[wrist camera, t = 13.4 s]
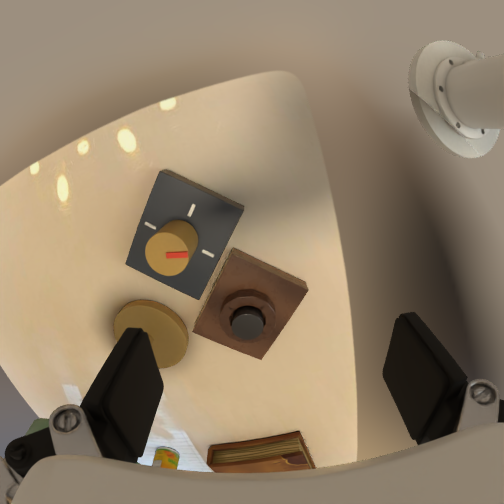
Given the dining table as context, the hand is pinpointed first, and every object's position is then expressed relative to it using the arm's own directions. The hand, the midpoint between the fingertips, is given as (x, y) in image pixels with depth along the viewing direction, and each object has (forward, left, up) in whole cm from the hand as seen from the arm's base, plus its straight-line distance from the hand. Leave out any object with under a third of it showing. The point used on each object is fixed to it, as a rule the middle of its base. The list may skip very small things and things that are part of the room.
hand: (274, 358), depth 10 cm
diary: (+47, +27, -24) cm, 59 cm away
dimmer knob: (+6, -7, -22) cm, 24 cm away
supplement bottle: (+55, +6, -24) cm, 60 cm away
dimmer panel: (+6, -7, -24) cm, 26 cm away
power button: (+11, +4, -21) cm, 24 cm away
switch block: (+11, +4, -24) cm, 27 cm away
